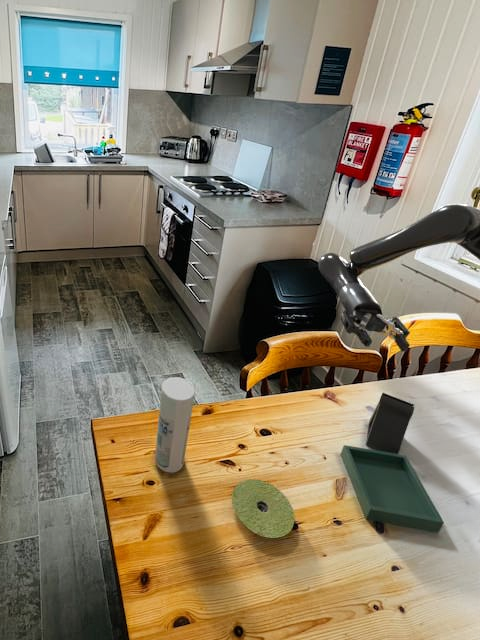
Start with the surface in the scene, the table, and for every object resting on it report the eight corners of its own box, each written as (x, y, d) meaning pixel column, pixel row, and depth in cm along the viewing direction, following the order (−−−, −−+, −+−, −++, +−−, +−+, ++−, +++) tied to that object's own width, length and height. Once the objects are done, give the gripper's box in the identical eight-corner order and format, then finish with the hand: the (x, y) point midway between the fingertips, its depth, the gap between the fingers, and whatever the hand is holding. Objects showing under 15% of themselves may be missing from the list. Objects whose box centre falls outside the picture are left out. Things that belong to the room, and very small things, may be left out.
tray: (401, 464, 86) (405, 455, 85) (438, 533, 73) (444, 522, 72) (340, 454, 88) (343, 444, 87) (365, 519, 75) (370, 509, 74)
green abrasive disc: (281, 558, 68) (284, 551, 67) (221, 517, 74) (222, 510, 73) (299, 508, 76) (301, 501, 76) (243, 475, 83) (244, 468, 82)
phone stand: (369, 420, 98) (384, 382, 93) (397, 432, 94) (415, 394, 90) (365, 445, 91) (381, 405, 86) (395, 459, 88) (414, 418, 83)
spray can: (149, 450, 87) (157, 379, 79) (177, 444, 89) (186, 374, 81) (160, 476, 81) (169, 403, 73) (189, 469, 83) (200, 397, 75)
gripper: (337, 288, 104) (363, 331, 90) (392, 295, 103) (426, 339, 90) (326, 310, 108) (350, 354, 94) (379, 316, 108) (410, 361, 94)
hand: (387, 346), depth 92 cm, fingers open, 8 cm apart
